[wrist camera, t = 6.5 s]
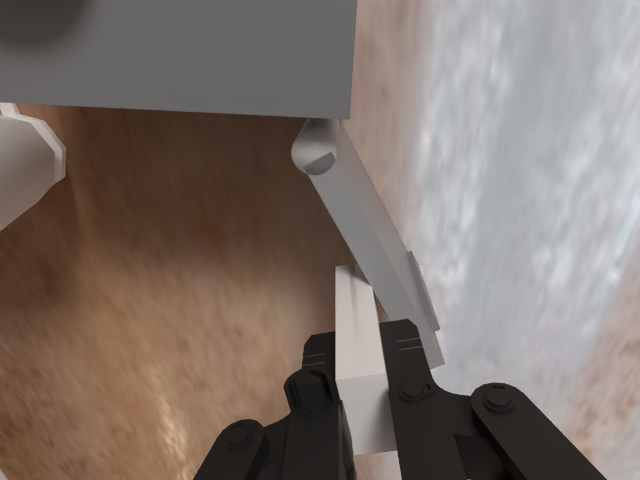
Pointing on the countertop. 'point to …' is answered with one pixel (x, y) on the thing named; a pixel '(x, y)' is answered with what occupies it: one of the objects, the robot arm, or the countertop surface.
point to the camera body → (181, 55)
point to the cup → (26, 162)
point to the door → (366, 227)
